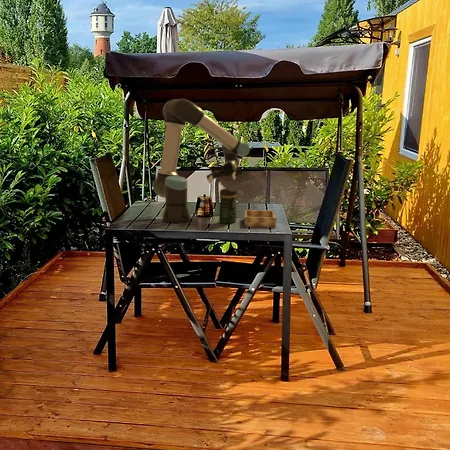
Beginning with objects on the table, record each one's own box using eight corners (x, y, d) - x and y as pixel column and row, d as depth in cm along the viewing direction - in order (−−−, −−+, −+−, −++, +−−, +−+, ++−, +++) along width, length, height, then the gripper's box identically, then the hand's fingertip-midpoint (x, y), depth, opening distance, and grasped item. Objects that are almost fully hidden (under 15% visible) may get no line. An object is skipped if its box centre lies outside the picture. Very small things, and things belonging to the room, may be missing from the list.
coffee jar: (230, 224, 245) (231, 189, 241) (217, 223, 249) (217, 188, 245) (238, 221, 254) (239, 187, 250) (225, 219, 257) (225, 186, 253)
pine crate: (244, 226, 241) (244, 217, 240) (244, 218, 261) (244, 210, 260) (275, 227, 241) (276, 217, 240) (273, 219, 260) (273, 210, 259)
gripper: (251, 171, 270) (244, 182, 251) (210, 178, 276) (201, 189, 257) (248, 158, 267) (242, 168, 248) (207, 165, 274) (197, 176, 255)
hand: (221, 179), depth 253 cm, fingers open, 13 cm apart
